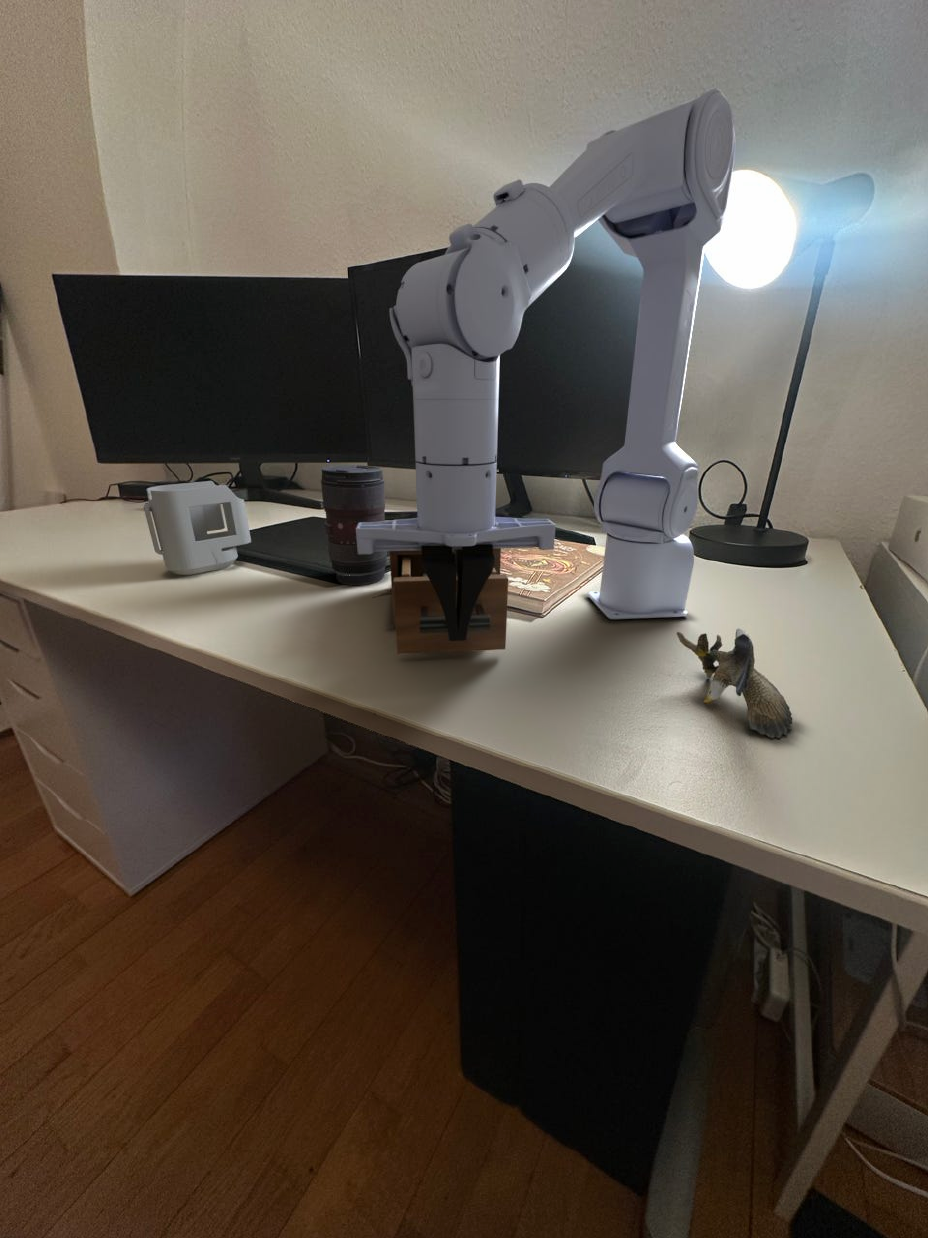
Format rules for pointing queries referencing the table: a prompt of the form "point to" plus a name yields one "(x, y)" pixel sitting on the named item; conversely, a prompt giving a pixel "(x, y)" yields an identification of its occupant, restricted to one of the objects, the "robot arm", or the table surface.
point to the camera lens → (353, 519)
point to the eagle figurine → (743, 682)
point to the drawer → (426, 621)
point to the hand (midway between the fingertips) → (456, 635)
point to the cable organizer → (196, 526)
